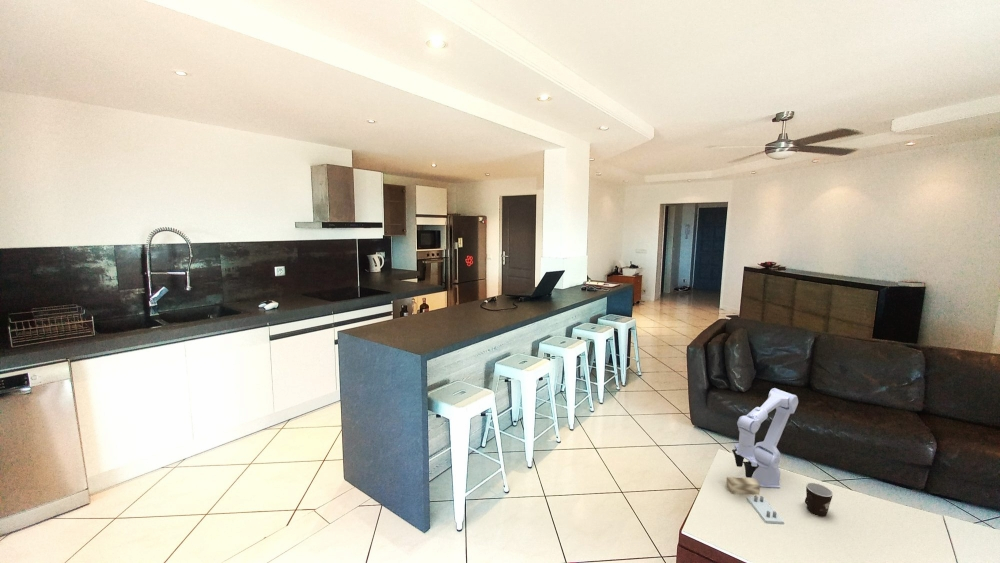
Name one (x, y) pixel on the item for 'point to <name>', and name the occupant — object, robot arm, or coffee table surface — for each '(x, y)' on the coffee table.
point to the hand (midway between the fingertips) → (743, 471)
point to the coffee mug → (818, 499)
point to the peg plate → (765, 510)
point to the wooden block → (743, 485)
